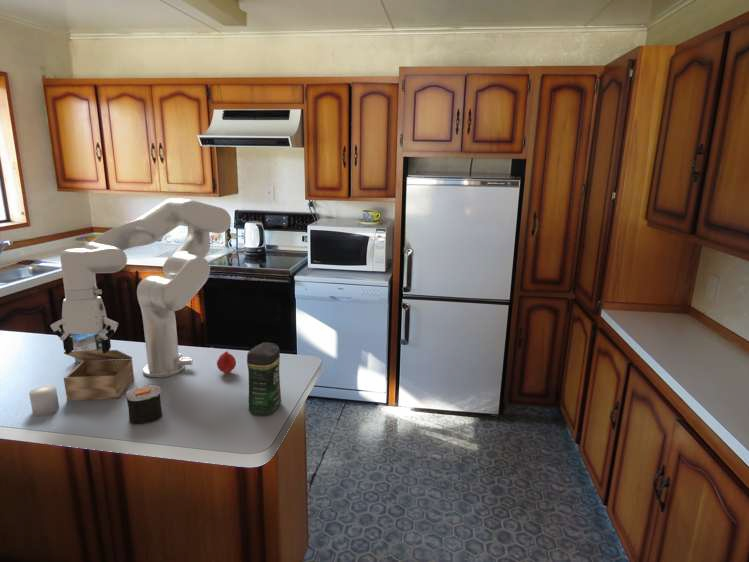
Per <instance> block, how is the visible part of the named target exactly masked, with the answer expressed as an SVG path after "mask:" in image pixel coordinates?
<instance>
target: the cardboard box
mask: <svg viewBox="0 0 749 562" xmlns="http://www.w3.org/2000/svg"><path fill="white" fill-rule="evenodd" d="M134 374H135V373H134V366H133V358H132V359H121V360H91V361H83V362H82V363H78V365H77V366H76V367H75V368H74V369H73V370H71V371H70V372H69V373H68V374H67V375H66V376H64V377H63V383H64V390H65V396H66V401H68V402H69V401H87V400H90V401H92V400H111V399H112V400H117V399H120V398H121V397H122V395H124V393H125V392H127V391H126V390H127V389H128V388H129V387H130V386H131V385H132V384H133V382H134V381H135V375H134ZM130 384H131V385H130Z"/></svg>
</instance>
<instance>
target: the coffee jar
mask: <svg viewBox="0 0 749 562" xmlns="http://www.w3.org/2000/svg"><path fill="white" fill-rule="evenodd" d="M280 353H281V352H280V347H279V345H277V344H276V343H274V342H273V343H272V342H265V341H264V342H261V343H259V344H257V345H255V346H254V347H252V348H251V349H250V350H249V351H248V352H247V354H246V356H247V357H246V364H247V370H248V411H249V412H250V413H251V414H253V415H256V416H266V415H267V416H268V415H272V414H273V413H274V412H275V411H277V410H278V408H279V406H280V405H281V403H282V394H281V380H280V379H281V378H280V360H281V356H280V355H281V354H280Z"/></svg>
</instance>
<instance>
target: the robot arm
mask: <svg viewBox="0 0 749 562" xmlns="http://www.w3.org/2000/svg"><path fill="white" fill-rule="evenodd" d="M231 225H232V218H231V215H230V213H229V212H228V210H226V209H225V208H223V207H219V206H215V205H212V204H208V203H205V202H201V201H197V200H194V199H190V198H179V197H177V198H176V197H175V198H173V197H172V198H168V199H165V200H164V201H162V202H161V203H159V204H158V205H156V206H155V207H153V208H152V209H150V210H149V211H147V212H145V213H144V214H142V215H140V216H139V217H138V218H136V219H133V220H132V221H128V222H126V223H123V224H121V225H119V226H117V227H113V228H111V229H109V230H107V231H105V232H103V233H101V234H99V235H98V236H96V237H95V238H93V239H92V240H90V241H89V242H88V243H86V244H85V245H84V246H83V247H78V248H77V247H76V248H68V249H64V250H62V251H61V252H60V254H59V255H60V256H59V257H60V264H61V267H60V268H61V273H62V282H63V289H64V297H65V298H64V299H63V301H62V305H61V307H62V308H61V310H62V311H61V318H60V319H59V320H57V321H55V322H53V323H52V324H50V328H51V330H52V331H53V332H54V334H55V335H56V336H57V337H58V338H59V340H60V341H62V344H63V345H62V346H63V350H64V352H65V353H66V354H69V353H70V352H72V351H73V350H74V348H73V340H72V337H71V334H97V333H98V334H99V335H100V336H101V337H102V338H103V340H101V343H102V352H103V353H106V352H108V351H109V350H111V347H112V344H111V337H112V336H113V335H114V334H115V332H116V331H117V329H118V327H119V325H120V324H119V322H118V321H115V320H113V319H110V318H108V317H107V311H106V307H105V305H104V302H103V301H104V300H103V299H102V297H101V295H102V294H103V290H102V289H101V288H100V289H99V287H98V286H97V279H96V274H113V273H114V274H115V273H117V272H120V271H122V270H123V269H124V268H125V267H126V265H127V263H128V257H127V254H126V253H125V252H124V251H125V250H129V249H132V248H137V247H143V246H147V245H151V244H154V243H156V242H158V241H159V240H161V239H162V238H163V237H165V236H166V235H167V234H169V233H170V232H172V231H173V230H175V229H176V228H178V227H179V226H183V227H187V235H186V237H185V239H184V240H183V242H182V243H181V244H180V245H179V246H178V247H177V248H176V249H175V251H173V252H172V253H171V255H170V256H168V258H167V259H166V260H165V262H164V263H163V265H162V271H163V274H164V275H165V276H166V277H164V276H163V277H162V276H159V275H150V276H147V277H144V278H143V279H142V280H141V281H140V282H139V283H138V284H137V288H136V296H137V301H138V304H139V307H140V310H141V311H140V312H141V315H142V323H143V331H144V332H143V333H144V334H143V335H144V341H145V342H144V343H145V351H146V360H147V361H146V362H147V364H146V365H145V366H144V367H143V368H142V373H143V374H144V375H145V376H146V377H149V378H165V377H170V376H171V377H172V376H174V375H176V374H179V373H180V372H181V371H182V372H183V370H184V369H185V366H192V365H193V359H192V358H191V356H190V357H189V356H186V357H184V356H182V352H179V344H178V342H179V341H178V333H177V321H176V319H177V318H176V313H175V312H176V311H180V310H182V309H183V308H185V307H186V306H187V305H188V304H189V303H190V302H191V300H192V299H193V298H194V297H195V296H196V295H197V293H198V292H199V291H200V289H202V287H203V286H205V284H206V282H207V281H208V280H209V277H210V274H211V266H210V262H209V261H208V260H207V259H206V257H207V255H208V253H209V252H210V248H211V235H210V233H214V234H222V233H225V232H226V231H228V229H230V227H231ZM99 295H100V296H99ZM61 325H62V328H60V326H61ZM109 326H110V329H109V330H108V329H107V328H108V327H109ZM66 354H65V355H66Z"/></svg>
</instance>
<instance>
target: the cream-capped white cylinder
mask: <svg viewBox="0 0 749 562" xmlns="http://www.w3.org/2000/svg"><path fill="white" fill-rule="evenodd" d="M28 395H29V399H30V405H31V412H32V415H33V414H34V415H33V416H35V415H37V416H36V417H42V416H41V415H44V416H47V414H49V415H51V414H54V413H55V411H56V412H57V411H58V410H59V409H60V403H59V396H58V391H57V386H56V385H51V384H50V385H49V384H48V385H42V386H39V387H35V388H33V389H31V390H30V391H29V394H28ZM53 412H54V413H53Z"/></svg>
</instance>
